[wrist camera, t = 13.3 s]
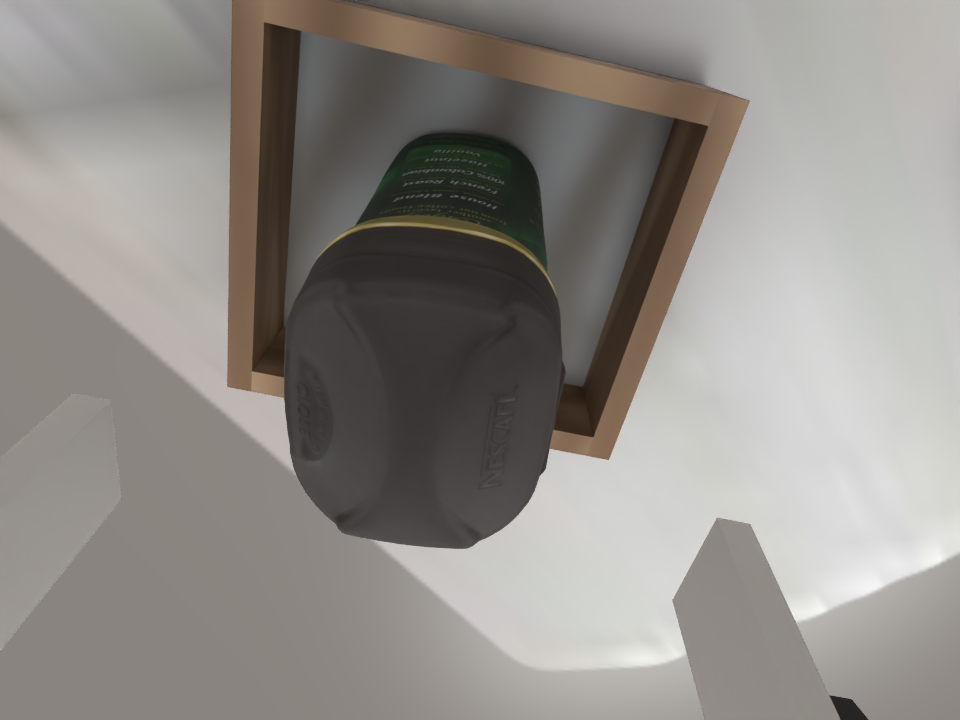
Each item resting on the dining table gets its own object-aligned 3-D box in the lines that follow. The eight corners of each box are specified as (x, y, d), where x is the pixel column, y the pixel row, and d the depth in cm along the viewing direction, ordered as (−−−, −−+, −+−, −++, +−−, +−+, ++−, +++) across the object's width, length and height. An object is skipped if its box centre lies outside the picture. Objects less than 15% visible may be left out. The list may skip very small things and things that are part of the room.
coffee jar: (386, 120, 30) (244, 247, 14) (550, 140, 30) (604, 288, 14) (380, 305, 34) (268, 562, 18) (521, 321, 35) (537, 591, 18)
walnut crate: (706, 85, 29) (749, 101, 24) (594, 398, 38) (608, 459, 33) (283, -15, 28) (232, -23, 23) (267, 333, 37) (227, 386, 31)
